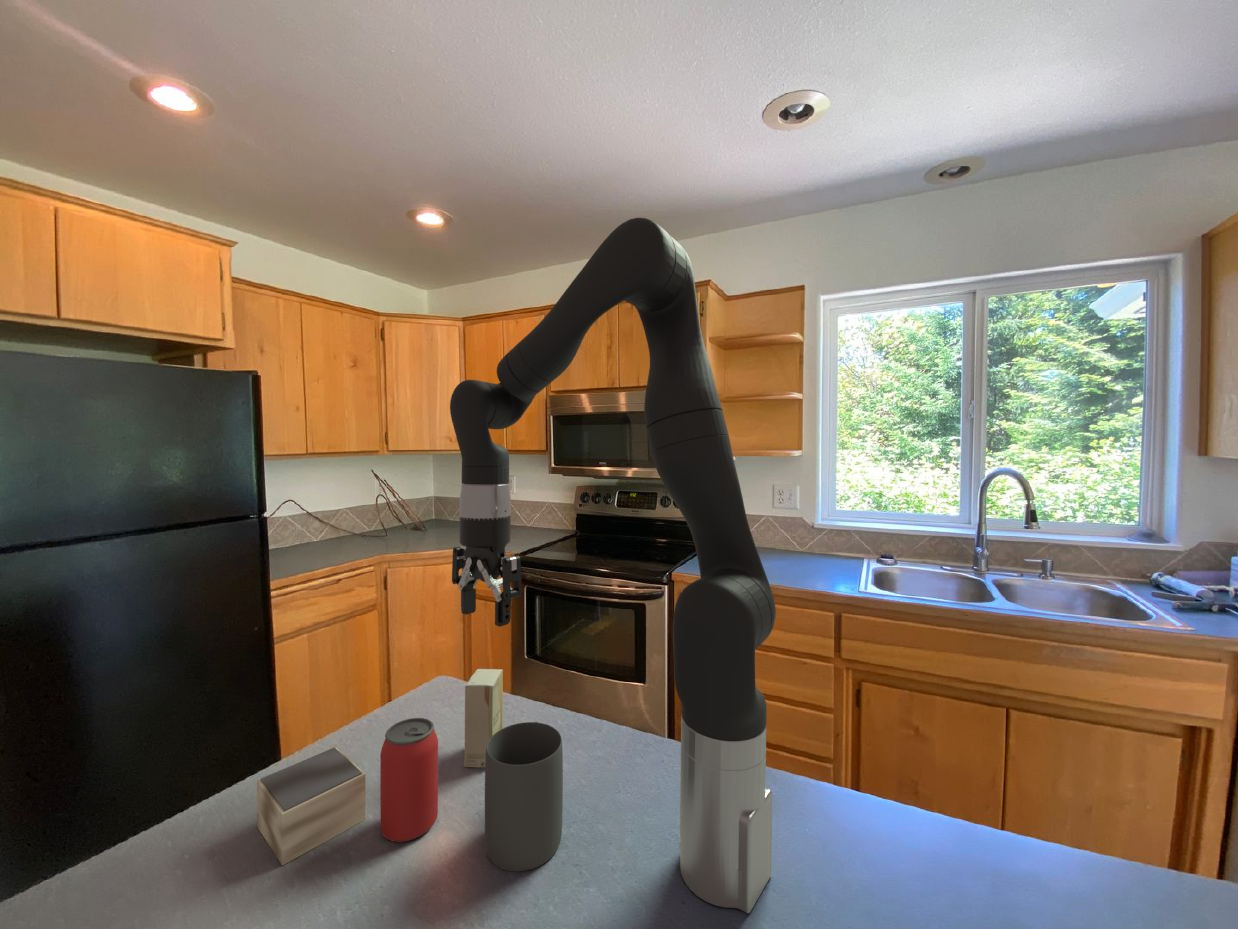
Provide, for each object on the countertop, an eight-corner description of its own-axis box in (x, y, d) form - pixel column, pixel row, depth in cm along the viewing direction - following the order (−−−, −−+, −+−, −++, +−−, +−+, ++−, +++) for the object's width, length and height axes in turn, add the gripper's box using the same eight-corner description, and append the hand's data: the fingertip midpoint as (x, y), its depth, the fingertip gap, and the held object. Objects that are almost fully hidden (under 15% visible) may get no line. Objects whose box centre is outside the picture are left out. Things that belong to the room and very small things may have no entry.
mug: (556, 874, 54) (557, 767, 53) (474, 873, 54) (474, 765, 53) (570, 790, 67) (570, 704, 67) (504, 789, 67) (504, 703, 67)
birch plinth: (365, 819, 61) (365, 772, 61) (282, 865, 54) (282, 812, 54) (335, 788, 67) (335, 745, 67) (257, 827, 60) (257, 779, 60)
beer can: (417, 850, 57) (417, 748, 57) (367, 840, 58) (368, 741, 58) (448, 810, 63) (448, 718, 63) (403, 802, 64) (403, 712, 64)
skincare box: (492, 769, 71) (493, 686, 71) (463, 768, 72) (463, 686, 71) (503, 743, 78) (504, 667, 78) (476, 743, 78) (477, 667, 78)
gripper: (535, 515, 73) (534, 622, 73) (478, 508, 82) (477, 604, 82) (494, 519, 67) (493, 637, 67) (437, 511, 76) (437, 615, 76)
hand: (484, 618), depth 74 cm, fingers open, 8 cm apart
